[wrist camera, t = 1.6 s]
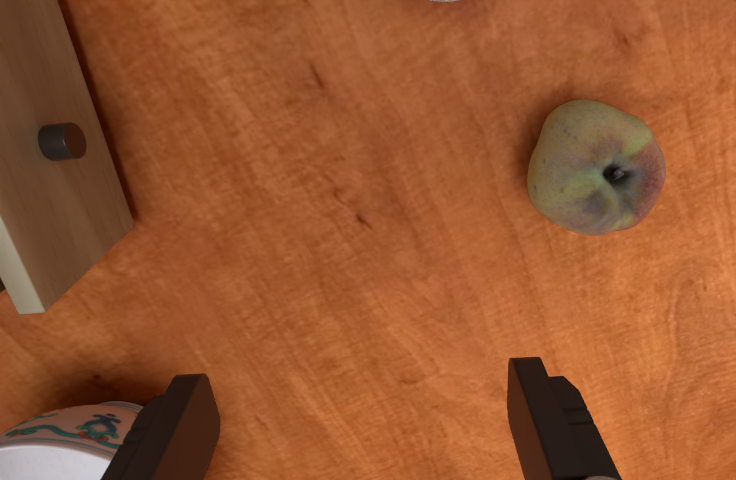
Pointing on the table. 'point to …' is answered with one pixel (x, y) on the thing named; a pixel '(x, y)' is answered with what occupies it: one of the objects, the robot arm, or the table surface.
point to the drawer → (50, 162)
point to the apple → (595, 168)
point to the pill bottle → (444, 0)
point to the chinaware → (66, 442)
